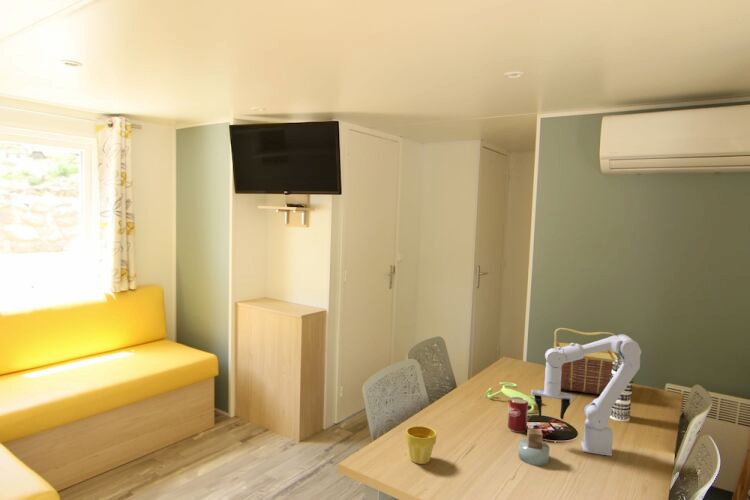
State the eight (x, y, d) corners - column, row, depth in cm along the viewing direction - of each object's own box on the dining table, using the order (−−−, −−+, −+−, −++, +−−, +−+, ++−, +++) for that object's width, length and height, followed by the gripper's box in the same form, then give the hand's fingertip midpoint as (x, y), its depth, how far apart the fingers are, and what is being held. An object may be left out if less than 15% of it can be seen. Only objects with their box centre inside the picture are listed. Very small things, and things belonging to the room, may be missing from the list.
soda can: (513, 434, 187) (515, 404, 186) (504, 426, 194) (505, 397, 193) (530, 432, 189) (532, 402, 188) (519, 424, 196) (521, 396, 195)
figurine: (504, 389, 238) (505, 378, 238) (551, 407, 216) (552, 395, 216) (479, 396, 227) (479, 384, 227) (526, 416, 205) (526, 403, 205)
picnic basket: (552, 392, 234) (556, 332, 232) (549, 376, 259) (553, 322, 257) (618, 401, 226) (622, 339, 224) (608, 384, 251) (612, 328, 249)
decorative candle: (606, 418, 205) (610, 361, 204) (607, 411, 213) (611, 356, 212) (630, 423, 201) (635, 365, 199) (630, 416, 209) (634, 360, 208)
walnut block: (540, 443, 169) (540, 429, 169) (541, 449, 165) (542, 435, 165) (526, 441, 170) (527, 427, 170) (528, 447, 166) (529, 433, 165)
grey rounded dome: (547, 454, 171) (548, 441, 171) (549, 468, 162) (550, 454, 161) (518, 450, 174) (519, 436, 174) (519, 463, 164) (519, 449, 164)
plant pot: (415, 449, 171) (417, 422, 171) (440, 459, 165) (442, 431, 164) (398, 459, 163) (400, 431, 163) (424, 470, 157) (425, 441, 156)
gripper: (571, 380, 180) (569, 415, 181) (531, 375, 184) (529, 410, 185) (574, 386, 173) (572, 422, 174) (533, 381, 177) (531, 417, 178)
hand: (550, 416), depth 179 cm, fingers open, 7 cm apart
